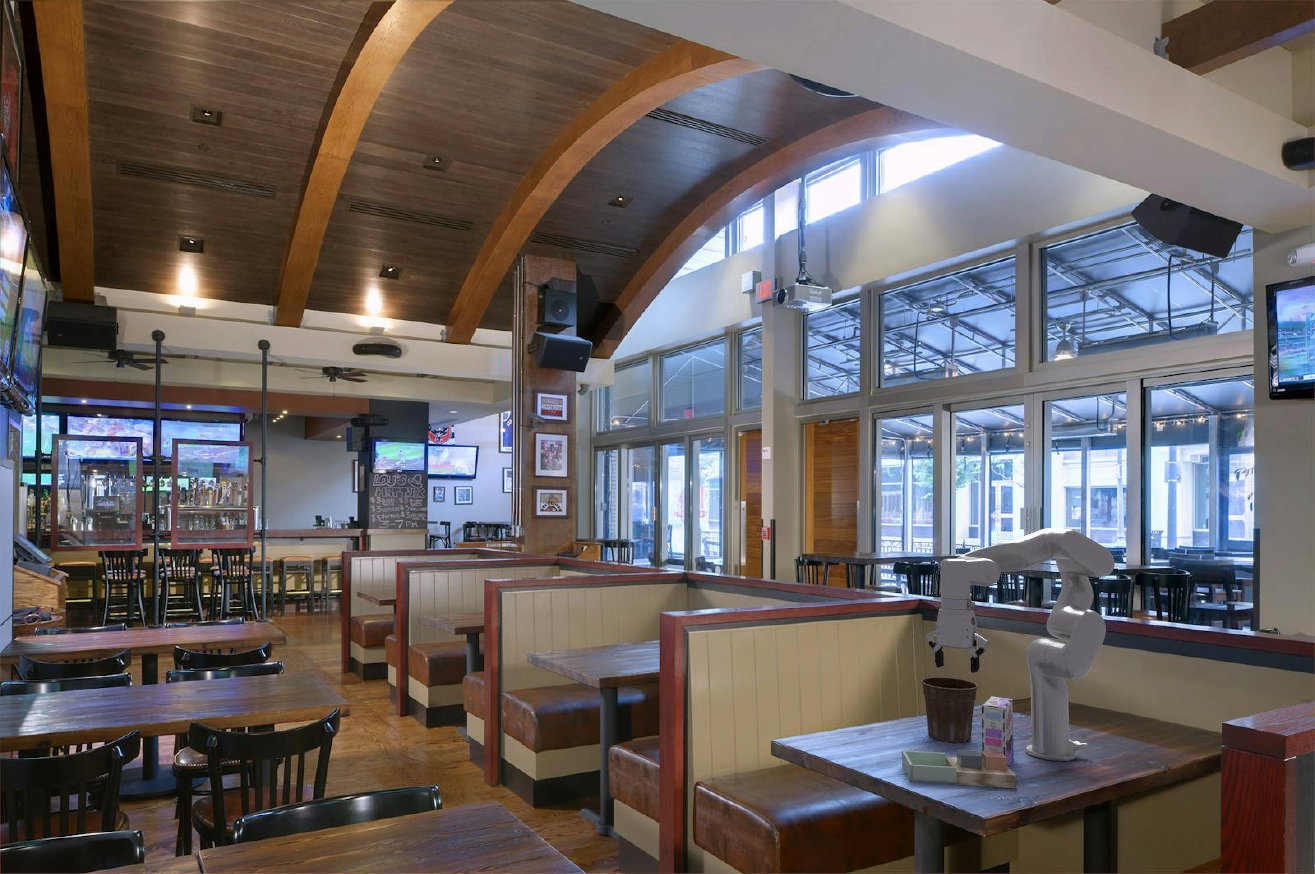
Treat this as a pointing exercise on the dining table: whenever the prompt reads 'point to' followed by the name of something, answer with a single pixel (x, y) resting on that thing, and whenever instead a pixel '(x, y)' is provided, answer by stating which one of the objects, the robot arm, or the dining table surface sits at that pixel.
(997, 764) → the tile
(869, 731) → the dining table surface
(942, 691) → the plant pot
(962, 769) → the tan wooden slab
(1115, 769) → the dining table surface
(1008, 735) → the candy box
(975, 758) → the tile
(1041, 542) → the robot arm
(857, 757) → the dining table surface
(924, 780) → the tray
